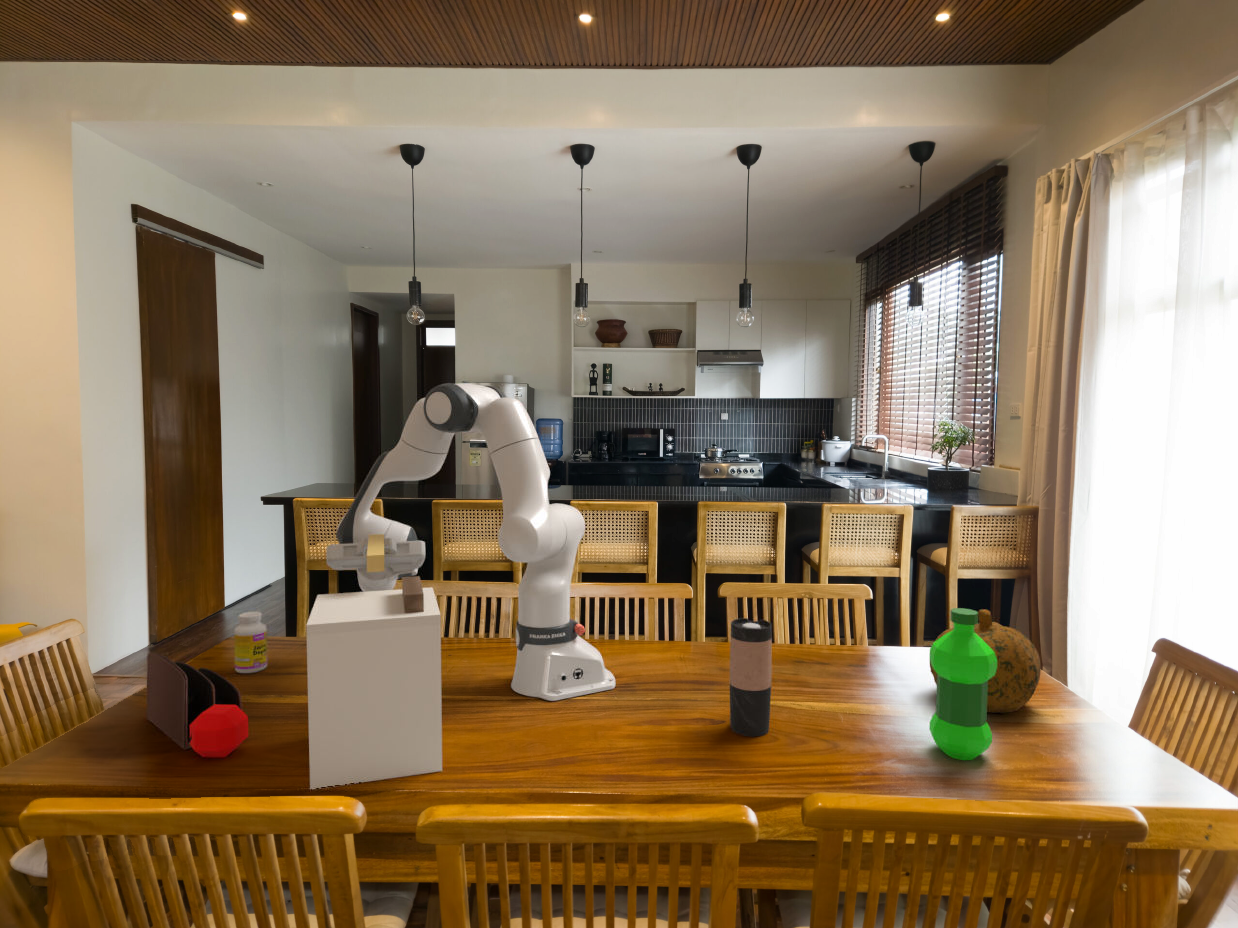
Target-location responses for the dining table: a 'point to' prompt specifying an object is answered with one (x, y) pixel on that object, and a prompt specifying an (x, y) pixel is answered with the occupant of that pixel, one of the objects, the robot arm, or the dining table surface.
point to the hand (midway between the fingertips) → (376, 541)
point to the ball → (218, 730)
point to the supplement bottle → (250, 643)
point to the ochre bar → (375, 553)
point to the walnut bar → (412, 594)
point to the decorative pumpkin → (1007, 665)
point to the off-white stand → (373, 688)
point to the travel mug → (750, 676)
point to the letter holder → (183, 695)
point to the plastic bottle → (962, 688)
